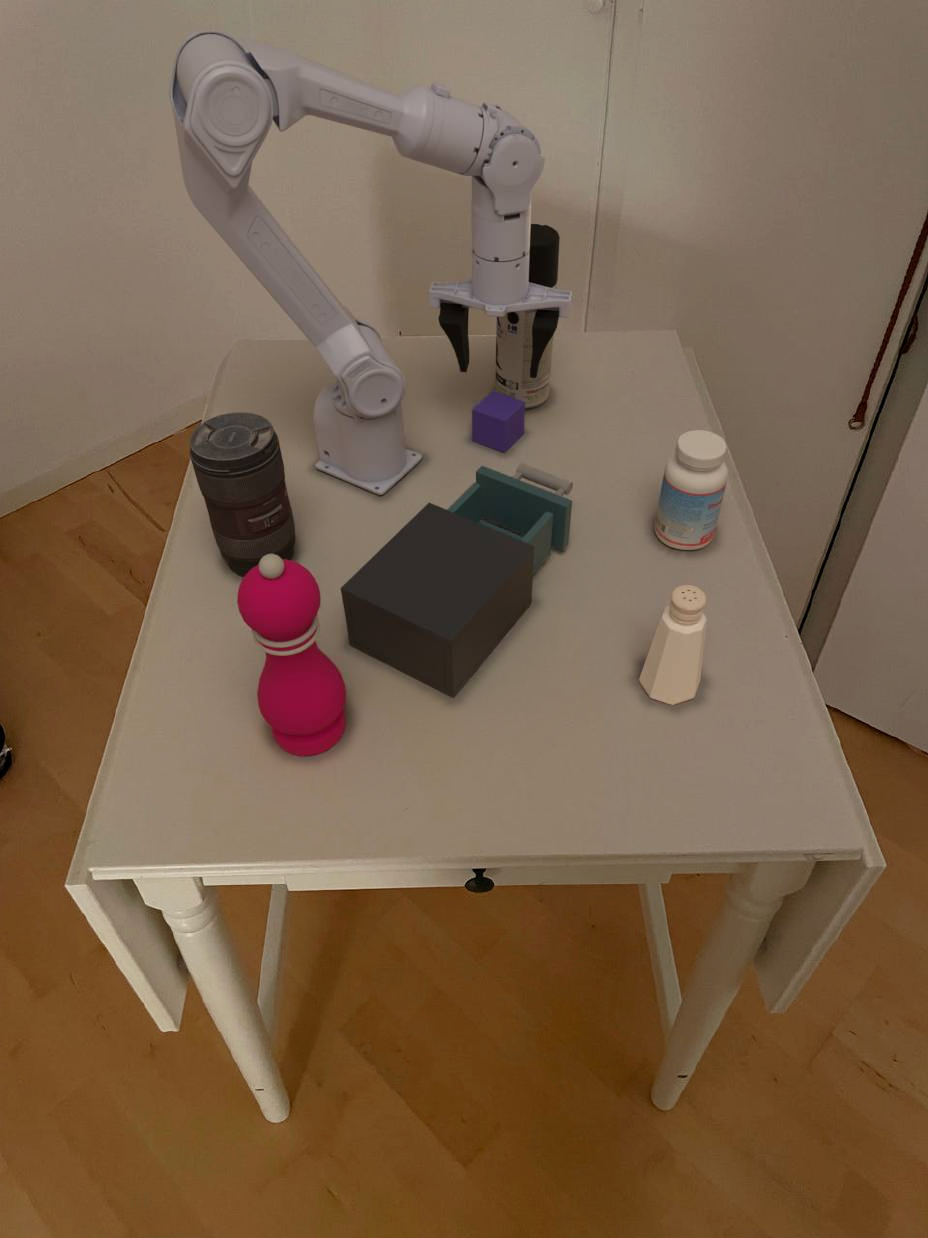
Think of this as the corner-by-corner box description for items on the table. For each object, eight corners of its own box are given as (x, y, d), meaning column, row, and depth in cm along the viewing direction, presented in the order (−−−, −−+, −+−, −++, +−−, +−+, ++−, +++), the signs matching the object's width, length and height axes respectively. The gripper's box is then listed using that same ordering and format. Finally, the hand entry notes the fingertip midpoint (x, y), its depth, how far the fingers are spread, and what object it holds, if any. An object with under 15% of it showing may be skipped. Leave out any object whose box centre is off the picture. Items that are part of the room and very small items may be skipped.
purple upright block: (472, 441, 106) (471, 409, 103) (492, 422, 109) (492, 390, 105) (504, 453, 105) (505, 421, 101) (524, 433, 107) (525, 401, 104)
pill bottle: (712, 556, 92) (735, 466, 84) (651, 548, 93) (668, 459, 85) (714, 517, 96) (735, 428, 88) (655, 510, 97) (671, 422, 89)
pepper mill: (280, 773, 76) (231, 606, 61) (257, 709, 80) (206, 540, 65) (363, 744, 77) (334, 574, 63) (336, 683, 82) (304, 512, 67)
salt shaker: (635, 658, 83) (651, 571, 75) (695, 659, 83) (718, 572, 75) (641, 705, 80) (659, 619, 72) (704, 706, 79) (729, 620, 71)
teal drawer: (504, 486, 99) (504, 442, 95) (589, 519, 95) (594, 475, 91) (413, 579, 89) (410, 535, 85) (504, 621, 86) (505, 577, 81)
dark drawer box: (432, 560, 93) (429, 502, 87) (531, 604, 88) (534, 545, 83) (349, 645, 85) (340, 588, 79) (453, 698, 81) (451, 641, 75)
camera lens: (306, 529, 96) (283, 408, 85) (294, 584, 91) (268, 462, 80) (229, 529, 96) (197, 408, 85) (213, 583, 91) (176, 462, 80)
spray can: (498, 378, 115) (500, 219, 100) (552, 381, 114) (562, 222, 100) (492, 408, 111) (493, 246, 96) (548, 412, 110) (558, 249, 95)
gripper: (420, 262, 88) (427, 384, 98) (570, 272, 86) (561, 396, 96) (434, 230, 93) (439, 350, 103) (577, 239, 91) (568, 360, 101)
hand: (499, 370), depth 100 cm, fingers open, 7 cm apart
